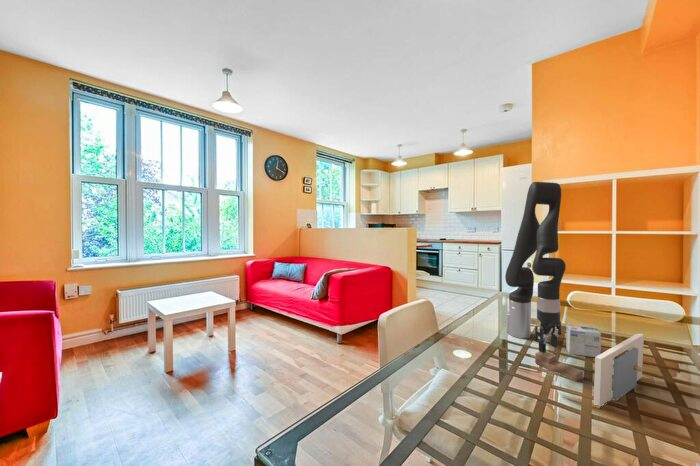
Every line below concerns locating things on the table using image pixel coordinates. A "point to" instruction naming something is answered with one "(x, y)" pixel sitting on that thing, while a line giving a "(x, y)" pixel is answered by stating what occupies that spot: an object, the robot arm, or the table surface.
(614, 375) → the door
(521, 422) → the table surface
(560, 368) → the block
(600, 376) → the wall frame
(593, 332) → the light bulb box
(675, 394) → the table surface
